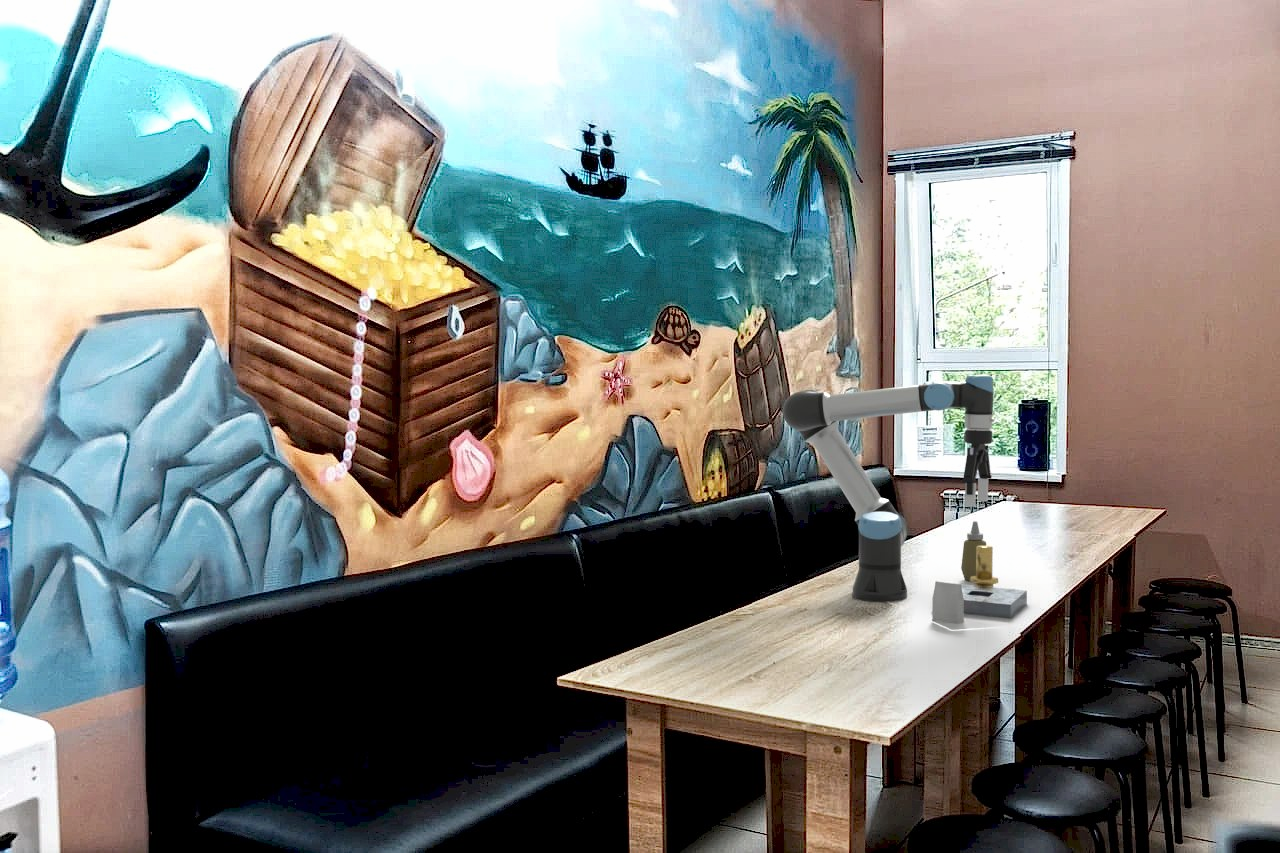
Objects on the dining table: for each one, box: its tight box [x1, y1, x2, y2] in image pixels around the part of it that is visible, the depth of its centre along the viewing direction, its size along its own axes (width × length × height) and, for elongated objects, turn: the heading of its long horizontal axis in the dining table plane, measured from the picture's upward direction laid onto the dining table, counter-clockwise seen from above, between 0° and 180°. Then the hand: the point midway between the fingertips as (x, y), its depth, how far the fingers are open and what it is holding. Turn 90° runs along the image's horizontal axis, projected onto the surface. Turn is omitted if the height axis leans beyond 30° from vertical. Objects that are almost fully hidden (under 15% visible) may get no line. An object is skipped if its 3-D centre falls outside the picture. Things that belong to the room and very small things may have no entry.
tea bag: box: [931, 580, 965, 624], centre depth 277 cm, size 4×7×10 cm, turn 51°
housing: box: [960, 583, 1028, 620], centre depth 292 cm, size 20×20×4 cm
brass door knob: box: [969, 545, 999, 587], centre depth 310 cm, size 8×8×14 cm
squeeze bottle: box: [960, 520, 987, 583], centre depth 329 cm, size 8×8×18 cm
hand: (976, 503), depth 310 cm, fingers open, 13 cm apart
